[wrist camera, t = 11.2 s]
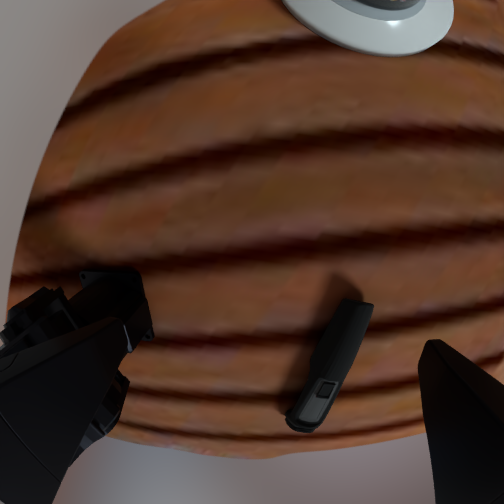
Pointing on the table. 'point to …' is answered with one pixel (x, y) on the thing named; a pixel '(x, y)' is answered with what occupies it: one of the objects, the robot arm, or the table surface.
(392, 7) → the supplement bottle
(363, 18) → the saucer
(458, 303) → the table surface
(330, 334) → the electric trimmer
